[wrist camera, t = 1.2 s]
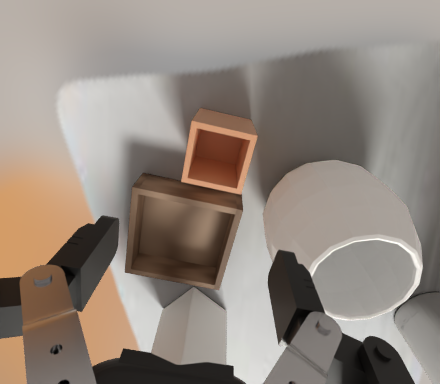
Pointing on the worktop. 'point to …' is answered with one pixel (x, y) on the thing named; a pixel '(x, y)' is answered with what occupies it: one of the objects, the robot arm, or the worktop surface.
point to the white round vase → (346, 237)
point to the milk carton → (192, 330)
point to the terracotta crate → (219, 151)
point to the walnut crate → (181, 231)
